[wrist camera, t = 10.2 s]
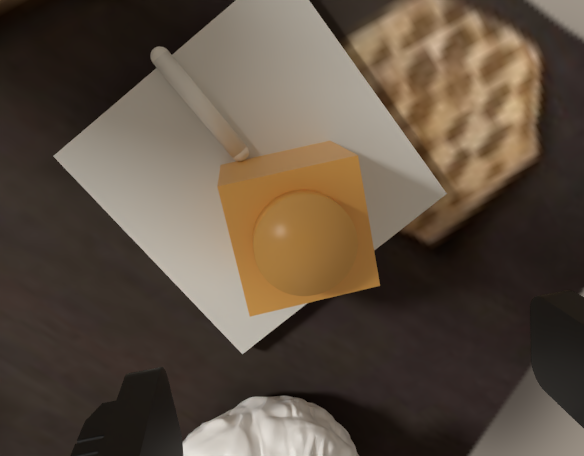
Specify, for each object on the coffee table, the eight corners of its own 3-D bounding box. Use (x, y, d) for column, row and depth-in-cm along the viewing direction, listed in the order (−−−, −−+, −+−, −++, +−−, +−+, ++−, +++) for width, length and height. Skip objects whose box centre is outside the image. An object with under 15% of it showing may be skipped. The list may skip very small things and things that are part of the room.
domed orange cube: (220, 164, 26) (216, 192, 19) (330, 140, 26) (365, 159, 19) (246, 268, 27) (250, 329, 20) (349, 244, 28) (388, 296, 21)
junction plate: (51, 142, 26) (4, 157, 20) (270, -45, 25) (281, -82, 19) (242, 343, 30) (244, 400, 24) (438, 189, 29) (485, 212, 23)
